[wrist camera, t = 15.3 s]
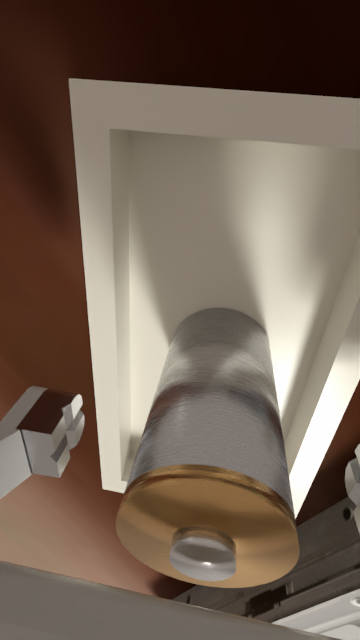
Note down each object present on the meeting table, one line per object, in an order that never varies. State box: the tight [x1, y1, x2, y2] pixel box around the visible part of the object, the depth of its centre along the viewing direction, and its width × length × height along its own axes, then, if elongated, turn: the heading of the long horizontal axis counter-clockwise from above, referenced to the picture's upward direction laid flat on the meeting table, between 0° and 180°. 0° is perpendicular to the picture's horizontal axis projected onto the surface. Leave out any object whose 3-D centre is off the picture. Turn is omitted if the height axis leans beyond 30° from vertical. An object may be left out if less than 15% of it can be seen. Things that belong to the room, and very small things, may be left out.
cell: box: [116, 308, 300, 588], centre depth 10 cm, size 4×4×8 cm
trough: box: [69, 78, 360, 519], centre depth 13 cm, size 10×17×2 cm, turn 176°
